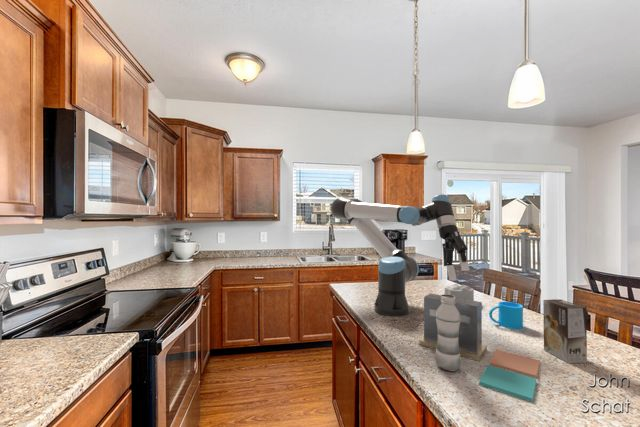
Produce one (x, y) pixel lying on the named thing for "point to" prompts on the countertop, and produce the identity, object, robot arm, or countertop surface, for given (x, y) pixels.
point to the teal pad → (509, 382)
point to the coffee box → (565, 330)
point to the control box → (467, 330)
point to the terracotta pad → (515, 363)
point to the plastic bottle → (448, 334)
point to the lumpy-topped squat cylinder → (460, 291)
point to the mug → (509, 315)
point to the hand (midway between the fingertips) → (459, 276)
